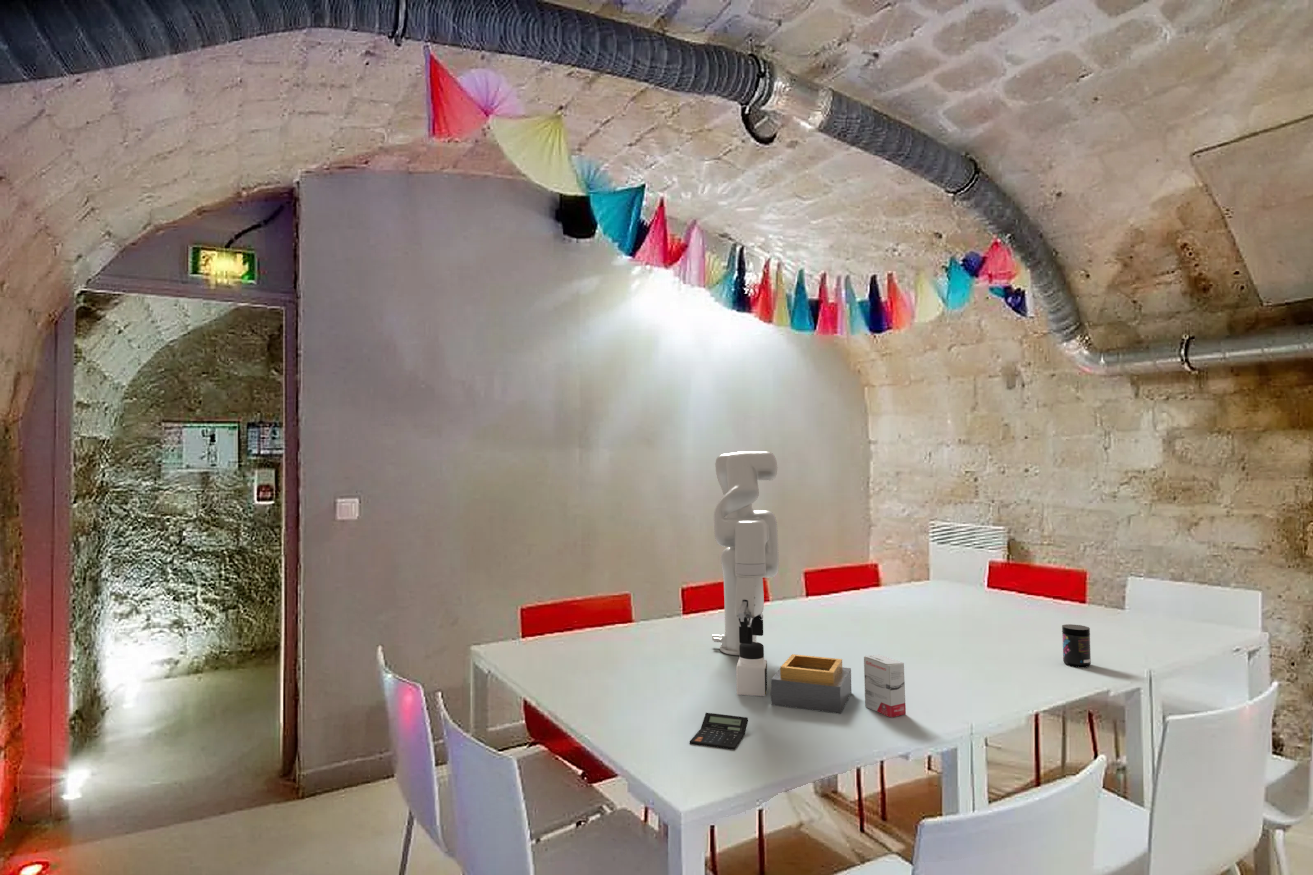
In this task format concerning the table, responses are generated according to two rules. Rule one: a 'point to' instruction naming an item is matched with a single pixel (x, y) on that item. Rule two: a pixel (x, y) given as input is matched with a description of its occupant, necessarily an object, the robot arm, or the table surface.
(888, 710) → the ink box
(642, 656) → the table surface
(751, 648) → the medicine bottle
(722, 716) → the calculator
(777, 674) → the drawer box
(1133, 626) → the table surface
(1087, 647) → the supplement container
